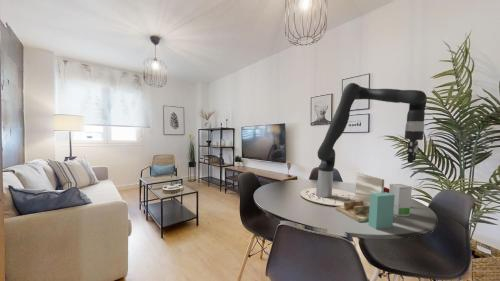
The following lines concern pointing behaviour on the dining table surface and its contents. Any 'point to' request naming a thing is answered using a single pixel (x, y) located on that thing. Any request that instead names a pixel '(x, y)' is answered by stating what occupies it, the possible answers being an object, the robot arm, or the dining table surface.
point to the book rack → (362, 197)
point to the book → (381, 210)
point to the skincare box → (401, 199)
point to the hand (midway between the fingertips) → (411, 161)
